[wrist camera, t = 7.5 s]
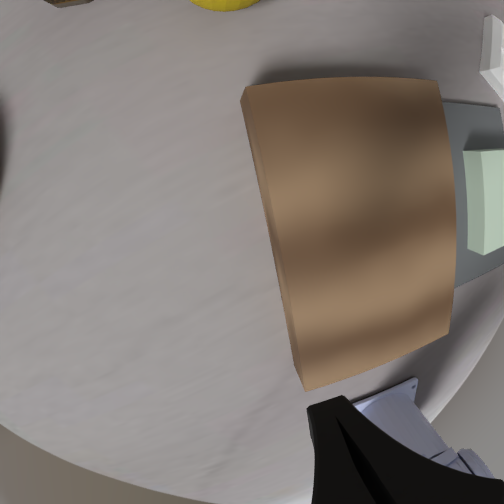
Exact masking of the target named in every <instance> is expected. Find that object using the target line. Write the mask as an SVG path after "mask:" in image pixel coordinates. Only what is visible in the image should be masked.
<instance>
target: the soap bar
mask: <svg viewBox="0 0 504 504" xmlns="http://www.w3.org/2000/svg"><path fill="white" fill-rule="evenodd" d="M479 72H480V74H481V75H482V76H483V77H484V78H485V79H486V81H487V82H488V83H489V84H490V85H491V87H492V88H493V89H494V90H495V91H496V93H497V94H498V95H499V97H500V98H501V99H502V100H503V102H504V24H503V22H502V21H501V20H499V19H498V18H497V17H495V16H494V15H490V16H487V17H484V28H483V42H482V52H481V61H480V69H479Z"/></svg>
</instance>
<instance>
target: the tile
mask: <svg viewBox="0 0 504 504" xmlns="http://www.w3.org/2000/svg"><path fill="white" fill-rule="evenodd" d="M463 157H464V166H465V176H466V189H467V210H468V246H467V249H469V250H472V251H474V252H477V253H479V254H481V255H486V254H488V253H490V252H492V251H494V250H496V249H498V248H500V247H503V246H504V149H501V148H499V149H482V150H468V151H463Z"/></svg>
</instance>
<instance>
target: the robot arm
mask: <svg viewBox="0 0 504 504" xmlns="http://www.w3.org/2000/svg"><path fill="white" fill-rule="evenodd" d="M417 385H418V379H417V378H416V377H414V378H411V379H409V380H407V381H405V382H403V383H401V384H399V385H397V386H394V387H392V388H390V389H388V390H385V391H383V392H381V393H378V394H376V395H374V396H371V397H369V398H366V399H364V400H361V401H359V402H356V403H353V404H352V403H351V402H350V401H349V400H348V399H347V398H346V397H345V396H343V395H341V396H338V397H335V398H332V399H329V400H326V401H323V402H320V403H317V404H313V405H310V406H309V407H308V408H307V415H308V422H309V429H310V435H311V439H312V442H313V446H314V452H315V469H314V487H313V496H312V503H311V504H504V482H503V480H501V479H495V478H494V476H493V474H492V473H491V472H490V470H489V469H488V467H487V466H486V465H485V463H484V462H483V461H482V460H481V458H480V457H479V456H478V455H477V454H476V453H475V452H474V451H473V450H471V449H460V450H459V451H458V452H457V454H458V455H457V454H456V453H455V452H454V450H453V449H452V448H449V447H448V446H447V445H446V444H445V442H444V441H443V440H442V438H441V437H440V436H439V434H438V433H437V432H436V430H435V429H434V428H433V427H432V425H431V424H430V423H429V421H428V420H427V419H426V418H425V416H424V415H423V414H422V412H421V411H420V410H419V409H418V407H417V406H416V405H415V404H414V399H415V395H416V390H417ZM458 456H459V457H458Z"/></svg>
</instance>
